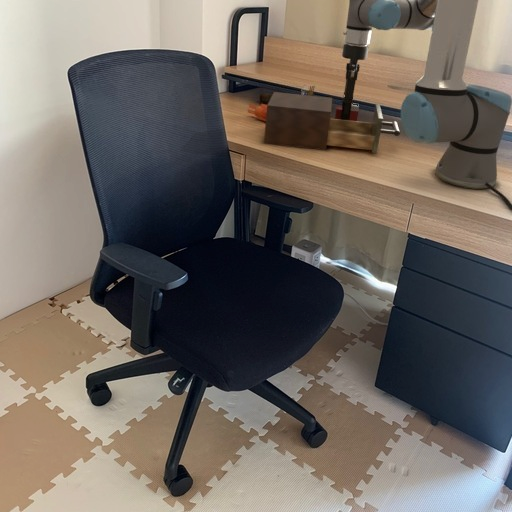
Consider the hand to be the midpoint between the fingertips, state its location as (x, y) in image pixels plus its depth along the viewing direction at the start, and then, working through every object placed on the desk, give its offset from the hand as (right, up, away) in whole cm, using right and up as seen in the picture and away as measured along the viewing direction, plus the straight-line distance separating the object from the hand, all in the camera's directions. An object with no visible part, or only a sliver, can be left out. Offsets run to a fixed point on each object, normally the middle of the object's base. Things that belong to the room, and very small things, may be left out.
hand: (344, 121), depth 169 cm
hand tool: (-20, +9, +18) cm, 29 cm away
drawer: (+1, -9, -12) cm, 16 cm away
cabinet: (-16, -8, -10) cm, 21 cm away
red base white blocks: (0, -1, 0) cm, 1 cm away
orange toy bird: (-26, +2, +5) cm, 26 cm away
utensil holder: (-12, +2, +7) cm, 15 cm away
